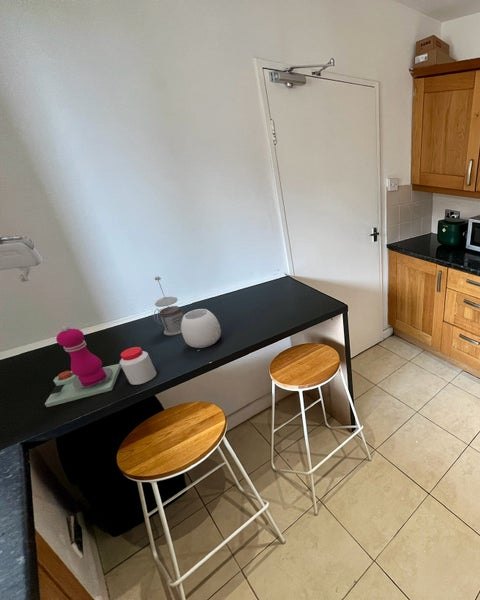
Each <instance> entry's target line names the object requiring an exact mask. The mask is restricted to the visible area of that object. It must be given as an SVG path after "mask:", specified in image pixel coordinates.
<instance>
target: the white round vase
mask: <svg viewBox="0 0 480 600" xmlns="http://www.w3.org/2000/svg"><path fill="white" fill-rule="evenodd" d="M181 331H182V333H181V334H182V337H183V341H184V342H185V343H186V344H187V345H188V346H189V347H191V348H195V349H204V348H207V347H211V346H212V345H214V344H215V343H217V342H218V341H219V339H220V338H221V336H222V335H221V334H222V328H221V325H220V323H219V319H218V318H217V317H216V315H215V314H214V313H212V312H211V311H210V310H209V309H207V308H198V309H193V310H190V311H188V312H187V313H185V314H183V319H182V322H181Z"/></svg>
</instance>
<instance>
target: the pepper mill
mask: <svg viewBox="0 0 480 600" xmlns="http://www.w3.org/2000/svg"><path fill="white" fill-rule="evenodd" d="M60 330H61V331H60V332H59V333H58V334H57V335H56V337H55V339H56V342H57V345H59V346H62V347H63V349H64V351H65V352H66V353H68V354H69V356H70V371H72V373H73V374H74V375H76V376H78V379H79V380H80V382H81V383H91V382H94V381H96V380H98V379H100V378H102V377H103V376H104V374H105V371H104V370H103V367H102V366H103V362H102V360H101V358H99V357H98V356H97V355H94V354H93V353H92V352H90V351H89V350H88V348H87V342H86V340H85V334H84V332H83V331H82V330H81V329H78V328H71V327H70V326H68V325H63V326H62V327H61V328H60Z"/></svg>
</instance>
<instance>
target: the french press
mask: <svg viewBox="0 0 480 600" xmlns="http://www.w3.org/2000/svg"><path fill="white" fill-rule="evenodd" d="M154 280H155V281H158V284H159V287H160V290H161V292H162V294H163V297H161V298H159V299H157V300H156V301H155V303H154V305H155V307H159V308H156V309H155V310H154V313H153V319H154V322H156V324H159V325H163V327H164V329H163V330H164V331H163V334H164V335H165V336H176V335H179V334H182V331H181V322H182V319H183V316H184V313H183V311H182V309H181V308H180V306H178V305H173V304H176V303H177V302H178V301H179V299H178V297H175V296H165V293H164V291H163V288H162V285H161V283H160V280H161V277H160V276H155V277H154ZM171 305H172V306H171ZM162 307H163V308H162ZM156 311H157V314H156ZM155 314H156V315H155ZM155 316H156V318H155ZM159 317H160V318H159ZM156 319H157V320H156ZM159 319H161V321H160V320H159Z"/></svg>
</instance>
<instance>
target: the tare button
mask: <svg viewBox="0 0 480 600" xmlns="http://www.w3.org/2000/svg"><path fill="white" fill-rule="evenodd" d="M70 371H71V370H65V371H62V372H60V373H59V374H58V375H57V376H58V377H59V378H60V380H64V379H67V378H70V377H71V376H72V373H71V372H70Z"/></svg>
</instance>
